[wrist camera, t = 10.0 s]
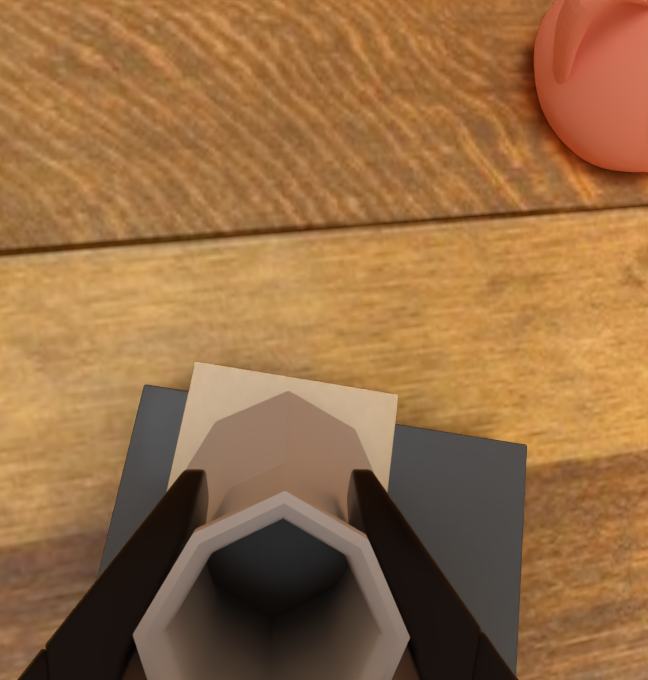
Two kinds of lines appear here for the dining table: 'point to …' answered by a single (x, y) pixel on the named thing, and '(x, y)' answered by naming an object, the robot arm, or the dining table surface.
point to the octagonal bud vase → (275, 561)
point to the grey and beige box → (388, 465)
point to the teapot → (596, 79)
